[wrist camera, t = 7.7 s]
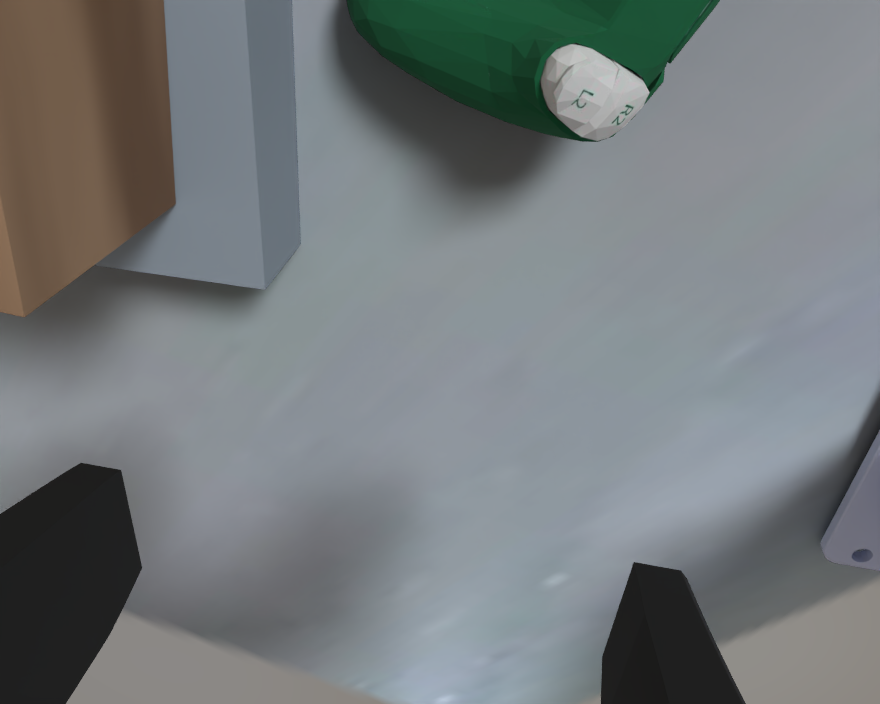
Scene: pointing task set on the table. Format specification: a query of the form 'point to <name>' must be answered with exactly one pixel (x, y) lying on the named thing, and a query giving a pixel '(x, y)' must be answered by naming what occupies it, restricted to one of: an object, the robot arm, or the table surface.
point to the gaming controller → (537, 55)
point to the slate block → (226, 147)
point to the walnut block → (78, 138)
